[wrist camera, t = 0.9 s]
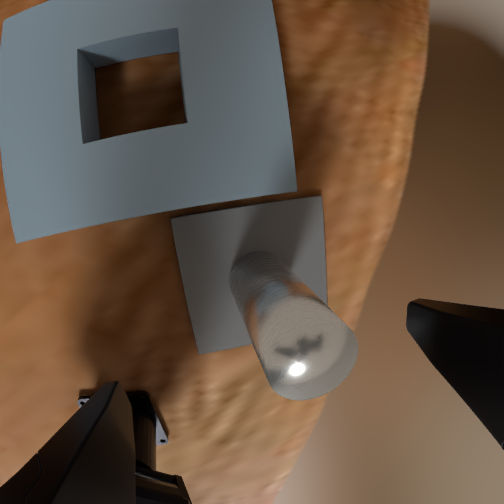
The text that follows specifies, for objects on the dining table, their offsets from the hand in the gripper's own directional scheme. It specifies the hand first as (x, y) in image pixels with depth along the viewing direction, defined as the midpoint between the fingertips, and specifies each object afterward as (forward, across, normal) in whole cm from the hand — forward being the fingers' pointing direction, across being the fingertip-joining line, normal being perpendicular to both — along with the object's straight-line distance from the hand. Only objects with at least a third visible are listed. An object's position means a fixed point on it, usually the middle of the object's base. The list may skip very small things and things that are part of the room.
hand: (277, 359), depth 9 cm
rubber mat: (+13, -2, +3) cm, 13 cm away
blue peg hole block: (+13, +3, -10) cm, 17 cm away
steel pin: (+13, -2, +3) cm, 13 cm away
